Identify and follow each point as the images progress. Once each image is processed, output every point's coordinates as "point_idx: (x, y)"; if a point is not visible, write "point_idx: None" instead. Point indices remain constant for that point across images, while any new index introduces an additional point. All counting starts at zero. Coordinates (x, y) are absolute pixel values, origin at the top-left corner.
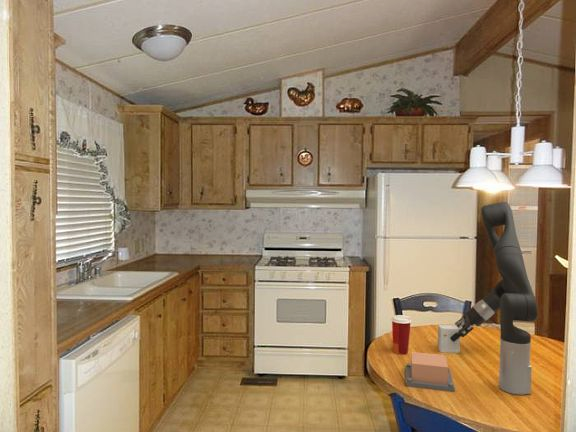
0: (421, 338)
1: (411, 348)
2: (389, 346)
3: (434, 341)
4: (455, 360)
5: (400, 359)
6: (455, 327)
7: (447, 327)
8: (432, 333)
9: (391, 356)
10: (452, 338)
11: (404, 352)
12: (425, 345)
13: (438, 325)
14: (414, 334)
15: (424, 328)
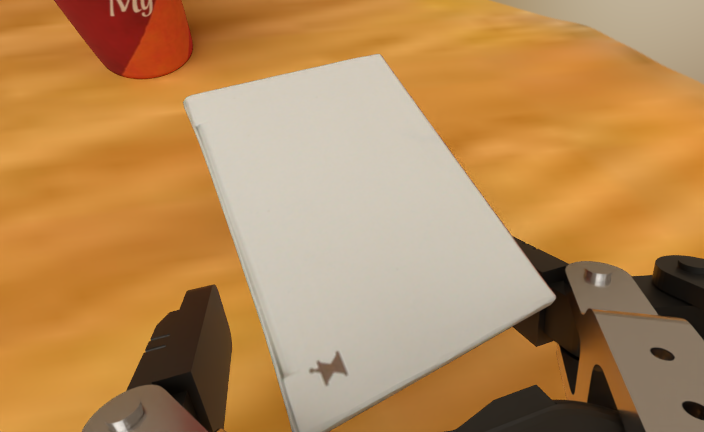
0: (479, 108)
1: None
2: (230, 3)
3: (480, 179)
4: (72, 411)
5: (2, 62)
6: (374, 313)
7: (285, 172)
8: (629, 147)
9: (51, 23)
10: (164, 324)
11: (98, 56)
12: None
13: (355, 60)
14: (520, 71)
15: (674, 100)
